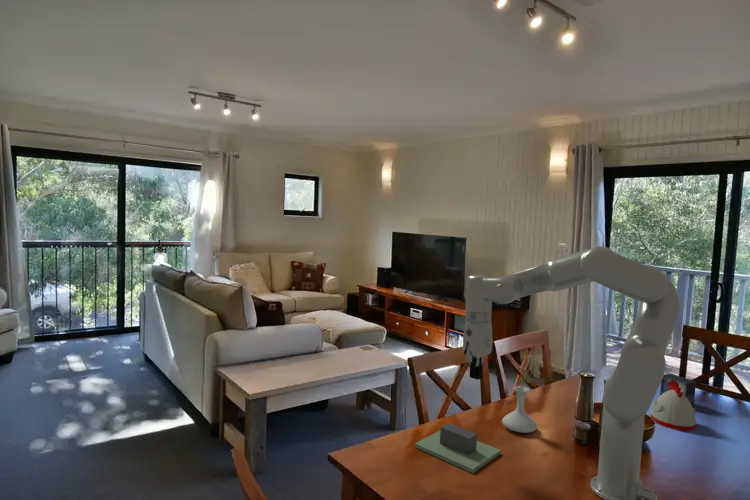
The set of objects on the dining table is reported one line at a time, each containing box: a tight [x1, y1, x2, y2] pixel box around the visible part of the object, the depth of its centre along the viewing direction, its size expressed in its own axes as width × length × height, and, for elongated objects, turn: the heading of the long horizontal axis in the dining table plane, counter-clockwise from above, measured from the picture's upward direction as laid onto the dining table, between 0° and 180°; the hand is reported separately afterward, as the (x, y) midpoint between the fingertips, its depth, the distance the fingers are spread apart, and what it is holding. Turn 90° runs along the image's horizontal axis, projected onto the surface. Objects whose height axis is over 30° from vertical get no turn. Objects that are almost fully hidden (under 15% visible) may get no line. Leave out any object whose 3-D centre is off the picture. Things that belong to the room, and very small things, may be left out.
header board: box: [414, 430, 502, 474], centre depth 142 cm, size 20×16×5 cm
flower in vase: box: [501, 354, 542, 434], centre depth 159 cm, size 13×11×25 cm
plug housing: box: [439, 422, 478, 455], centre depth 142 cm, size 10×4×5 cm, turn 48°
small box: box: [659, 373, 697, 408], centre depth 191 cm, size 11×6×10 cm, turn 25°
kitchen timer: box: [650, 380, 697, 432], centre depth 171 cm, size 14×14×15 cm
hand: (475, 377), depth 140 cm, fingers closed
